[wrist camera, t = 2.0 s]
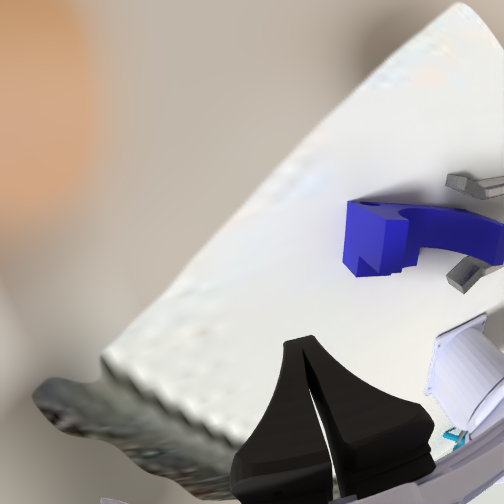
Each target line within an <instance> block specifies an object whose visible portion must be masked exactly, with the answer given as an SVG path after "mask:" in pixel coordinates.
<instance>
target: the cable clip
mask: <svg viewBox="0 0 504 504" xmlns="http://www.w3.org/2000/svg"><path fill="white" fill-rule="evenodd" d="M420 247H428V248H438V249H445V250H450V251H455V252H459V253H462V254H466V255H469V256H472V257H475V258H477V259H480V260H482V261H484V262H486V263H488V264H490V265H492V266H500V265H503V263H504V224H503V223H500V222H498V221H495V220H493V219H490V218H487V217H485V216H482V215H479V214H476V213H474V212H471V211H468V210H465V209H455V208H445V207H433V206H421V205H408V204H393V203H375V202H354V201H347V217H346V230H345V241H344V252H343V263H344V264H345V265H346V266H347V268H348V269H349V270H350V271H351V272H352V273H353V274H354V275H355V277H370V276H389V275H391V274H392V273H401V271H402V268H404V267H409V266H417V261H418V255H419V249H420Z"/></svg>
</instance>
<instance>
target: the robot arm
mask: <svg viewBox="0 0 504 504" xmlns="http://www.w3.org/2000/svg"><path fill="white" fill-rule="evenodd" d="M486 319H487V316H486V315H485V314H483V315H481V316H479V317H477V318H476V319H474V320H472V321H470V322H468V323H466V324H464V325H462V326H460V327H458V328H456V329H454V330H452V331H450V332H448V333H446V334H444V335H441V336H439V337H438V338H437V339H436V341H435V346H434V351H433V356H432V361H431V366H430V370H429V375H428V379H427V383H426V387H425V391H424V395H425V396H428V395H430V394H432V395H433V397H434V398H435V400H436V401H437V403H438V404H439V406H440V407H441V409H442V410H443V412H444V413H445V415H446V417H447V418H448V420H449V421H450V423H451V424H452V425H453V426H454V427H456V428H458V429H460V430H463V431H468V433H467V434H466V437H465V444H464V445H463V446H461V447H459V448H458V449H456V450H454V451H453V452H451V453H449V454H447V455H446V456H444V457H442V458H440V459H438V460H437V461H435V462H434V460H433V458H432V456H431V454H430V452H431V448H430V446H429V444H428V441H429V439H430V437H431V434H432V432H433V430H434V426H435V425H434V422H433V420H432V418H431V417H430V415H429V414H428V413H427V412H426V410H425V409H424V408H423V407H422V406H421V405H420V404H418V403H414V402H410V401H407V400H403V399H400V398H397V397H395V396H392V395H390V394H387V393H385V392H383V391H381V390H379V389H377V388H375V387H373V386H371V385H369V384H368V383H366V382H364V381H363V380H361V379H360V378H358V377H357V376H355V375H354V374H352V373H351V372H350V371H348V370H347V369H346V368H345V367H343V366H342V365H341V364H340V363H339V362H338V361H336V360H335V359H334V358H333V357H332V356H331V355H330V354H329V353H328V352H327V351H326V350H325V349H324V348H323V347H322V345H321V344H320V343H319V342H318V341H317V339H316V338H315V336H313V335H309V336H305V337H301V338H297V339H293V340H289V341H285V342H284V343H283V347H284V350H283V361H282V366H281V371H280V375H279V379H278V382H277V385H276V388H275V391H274V394H273V396H272V399H271V401H270V403H269V406H268V408H267V409H266V411H265V413H264V415H263V417H262V419H261V421H260V422H259V424H258V425H257V427H256V428H255V430H254V431H253V433H252V434H251V436H250V437H249V438H248V440H247V441H246V442H245V443H244V445H243V446H242V447H241V448H240V449H239V450H238V452H237V453H236V454H235V456H234V459H233V463H232V467H231V472H230V491H231V493H232V494H233V495H234V496H235V497H236V498H237V499H238V500H239V501H240V502H241V503H242V504H466V503H468V502H469V501H471V500H472V499H474V498H475V497H476V496H478V495H479V494H481V493H482V492H483V491H485V490H486V489H487V488H489V487H490V486H491V485H493V484H503V483H504V354H503V353H502V352H501V351H500V350H499V349H498V348H497V347H496V346H495V345H494V344H493V343H492V342H491V341H490V340H489V339H488V338H487V337H486V336H485V335H484V334H483V331H484V327H485V323H486ZM309 389H310V391H309ZM310 392H311V395H312V397H313V400H314V402H315V405H316V408H317V410H318V413H319V415H320V418H321V421H322V423H323V426H324V429H325V432H326V436H327V440H328V444H329V448H330V452H331V456H332V460H333V465H334V469H335V473H336V478H337V482H338V487H339V491H340V496H341V499H337V500H333V491H332V489H333V478H332V463H331V459H330V455H329V451H328V448H327V445H326V442H325V439H324V436H323V433H322V430H321V427H320V424H319V421H318V418H317V414H316V411H315V408H314V405H313V401H312V398H311V395H310ZM100 504H128V503H125V502H122V501H117V500H112V499H108V498H101V502H100Z"/></svg>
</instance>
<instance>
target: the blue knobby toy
mask: <svg viewBox="0 0 504 504" xmlns="http://www.w3.org/2000/svg"><path fill="white" fill-rule="evenodd" d="M467 433H468V431H463V430H462V431H461V433H460V434H459V436H457V435H454V434H451V433H448V432H445V433H444V435H443V437H444V438H447V439H450V440H453V441H456V442H455V443H457V445H455V446H454V448H453V451H454V450H456V449H458V448H459V447H461V446H463V445H464V444H465V437H466V434H467Z"/></svg>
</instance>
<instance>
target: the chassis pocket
mask: <svg viewBox="0 0 504 504" xmlns="http://www.w3.org/2000/svg"><path fill="white" fill-rule="evenodd" d="M445 186H447V187H449V188H452V189H454V190H456V191H458V192H460V193H462V194H464V195H467V196H471V197H474V198H478V199H481V200H485V199H489V198H493V197H497V196H501V195H504V176H502V177H496V178H491V179H485V180H479V181H472V180H470V179H469V178H466V177H461V176H456V175H450V174H448V175H447V180H446V185H445ZM502 267H504V263H503V265H500V266H492V265H490V264H488V263H486V262H484V261H482V260H480V259H477V258H475V257H472V256H469V257H466V258H464V259H463V260H462V261H461V262H460V263H459V264H458V265H457V266H456V267H455V268H453V269H452V270H451V271H450V272H449V273H448V274H447V275H446V277H447V280H448V283H449V284H451V285H452V286H453V287H455V288H456V289H457V290H459V291H460V292H461V293H463V294H465V293H466V292H467V291H468V290H469V289H470V288H471V287H472V286H473V285H474V284H475V283H476V282H477V281H478V280H479V279H480V278H481V277H483V276H486V275H488V274H490V273H492V272H494V271H496V270H498V269H500V268H502Z"/></svg>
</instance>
